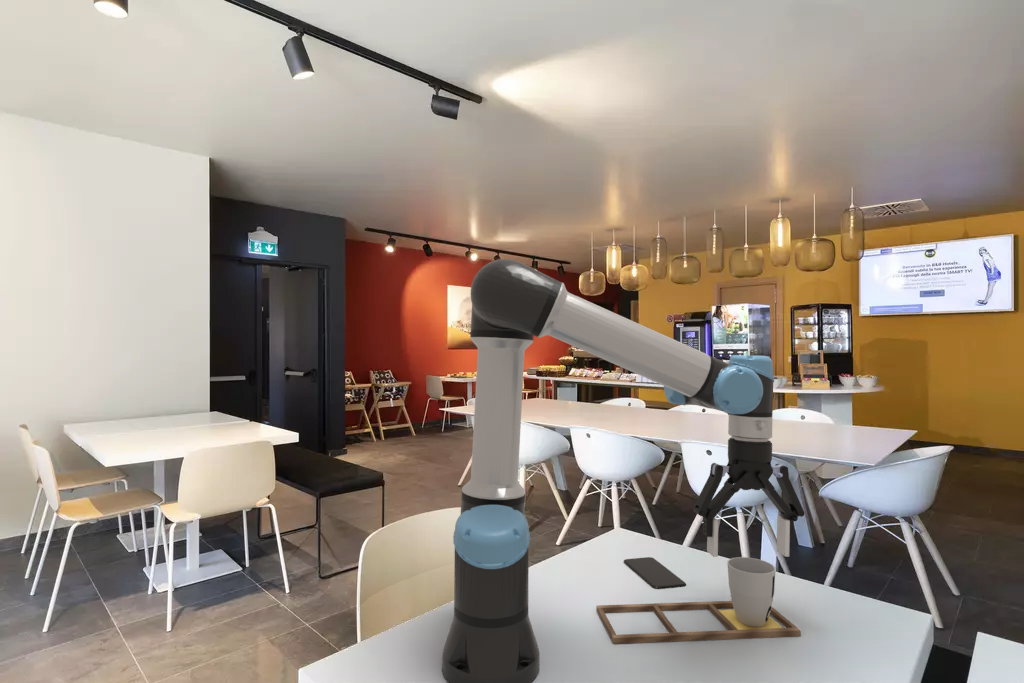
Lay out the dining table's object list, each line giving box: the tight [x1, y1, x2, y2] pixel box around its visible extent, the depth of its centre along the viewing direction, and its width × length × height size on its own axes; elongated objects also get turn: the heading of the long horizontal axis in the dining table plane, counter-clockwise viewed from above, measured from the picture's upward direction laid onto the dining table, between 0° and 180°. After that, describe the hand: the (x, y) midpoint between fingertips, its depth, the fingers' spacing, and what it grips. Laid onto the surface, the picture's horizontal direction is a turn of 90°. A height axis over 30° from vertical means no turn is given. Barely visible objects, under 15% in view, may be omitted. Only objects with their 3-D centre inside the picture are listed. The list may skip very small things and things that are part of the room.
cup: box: [727, 556, 776, 627], centre depth 101 cm, size 8×8×10 cm
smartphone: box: [623, 556, 687, 590], centre depth 123 cm, size 8×1×16 cm
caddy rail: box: [595, 600, 802, 645], centre depth 100 cm, size 33×12×1 cm, turn 95°
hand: (747, 554), depth 101 cm, fingers open, 13 cm apart
